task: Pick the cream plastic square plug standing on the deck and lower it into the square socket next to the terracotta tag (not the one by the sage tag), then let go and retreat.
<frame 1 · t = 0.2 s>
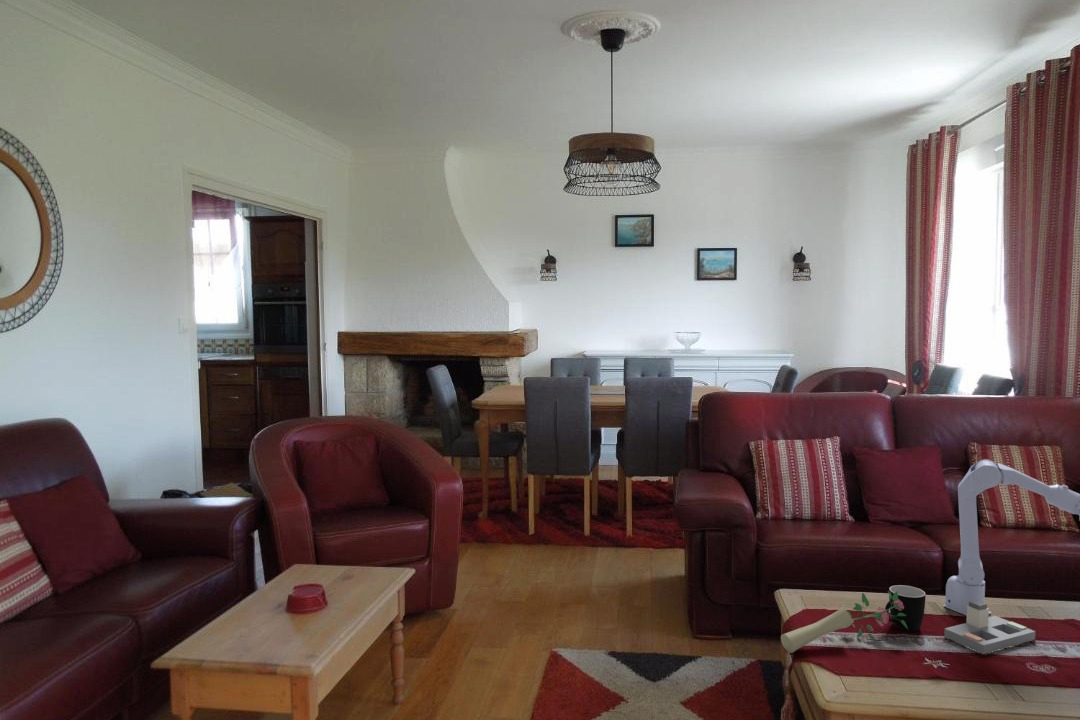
plug: (977, 624, 198), point 2 cm above the table, touching deck
flower vase: (841, 643, 193), on the table
mug: (902, 628, 202), on the table
deck: (989, 639, 195), on the table
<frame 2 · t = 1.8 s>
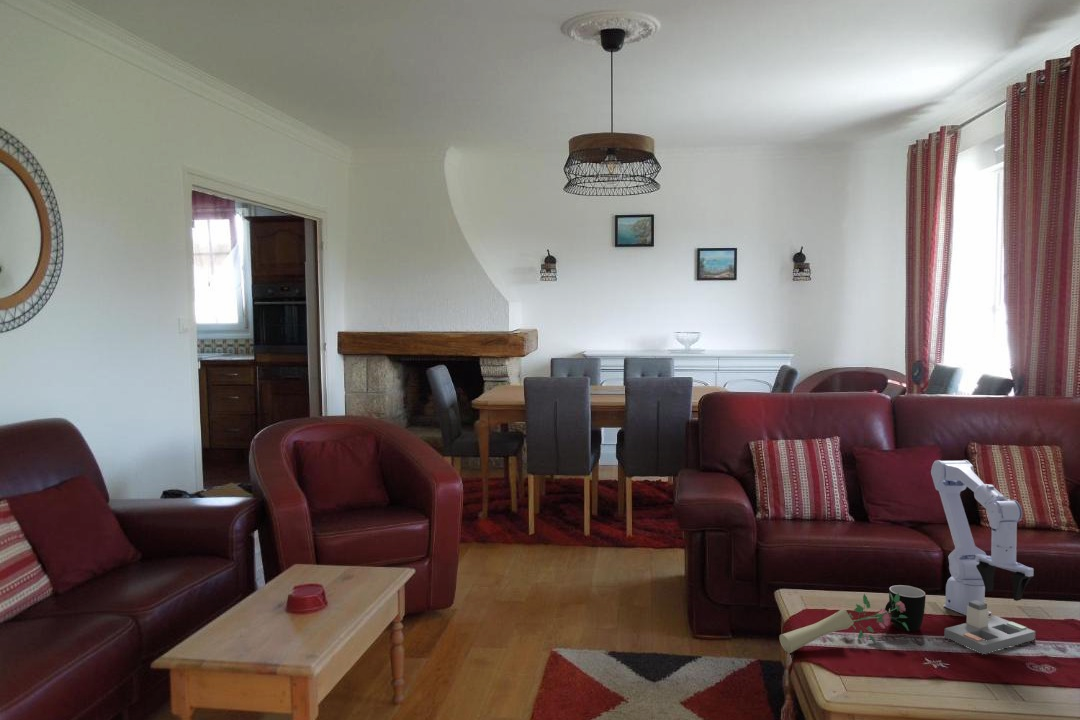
hand: (1003, 595, 198), 10 cm above the table, tool pointing down, fingers open, 7 cm apart
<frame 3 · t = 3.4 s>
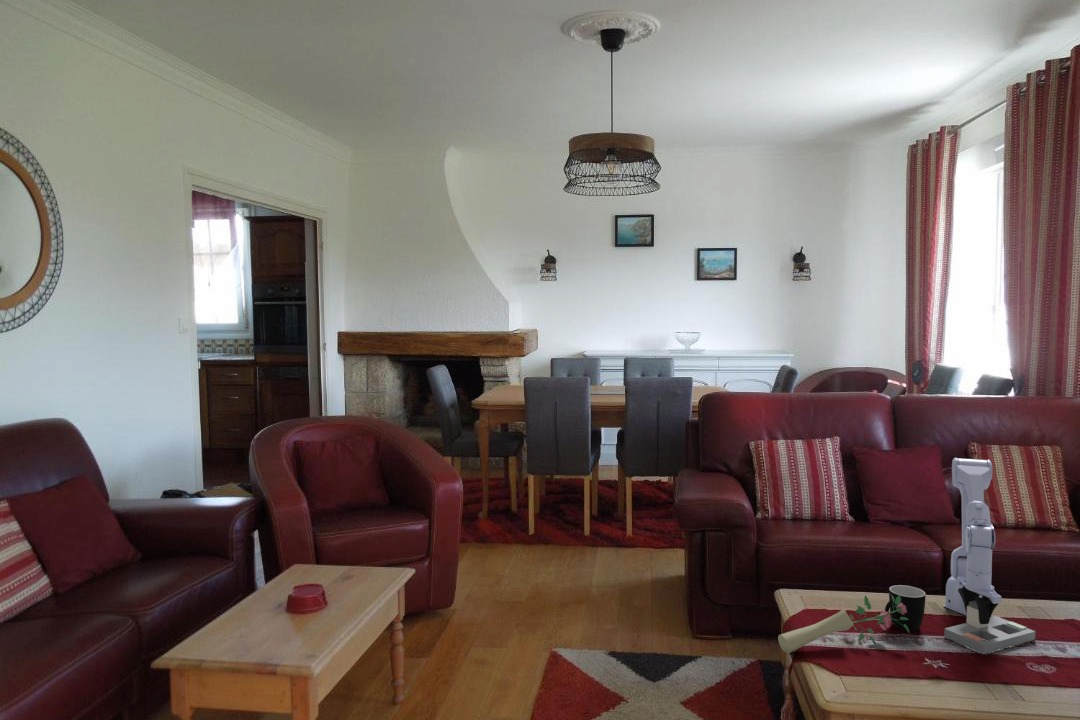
hand: (977, 619, 198), 4 cm above the table, tool pointing down, fingers closed on plug, 4 cm apart
plug: (977, 624, 198), point 3 cm above the table, touching deck, gripper
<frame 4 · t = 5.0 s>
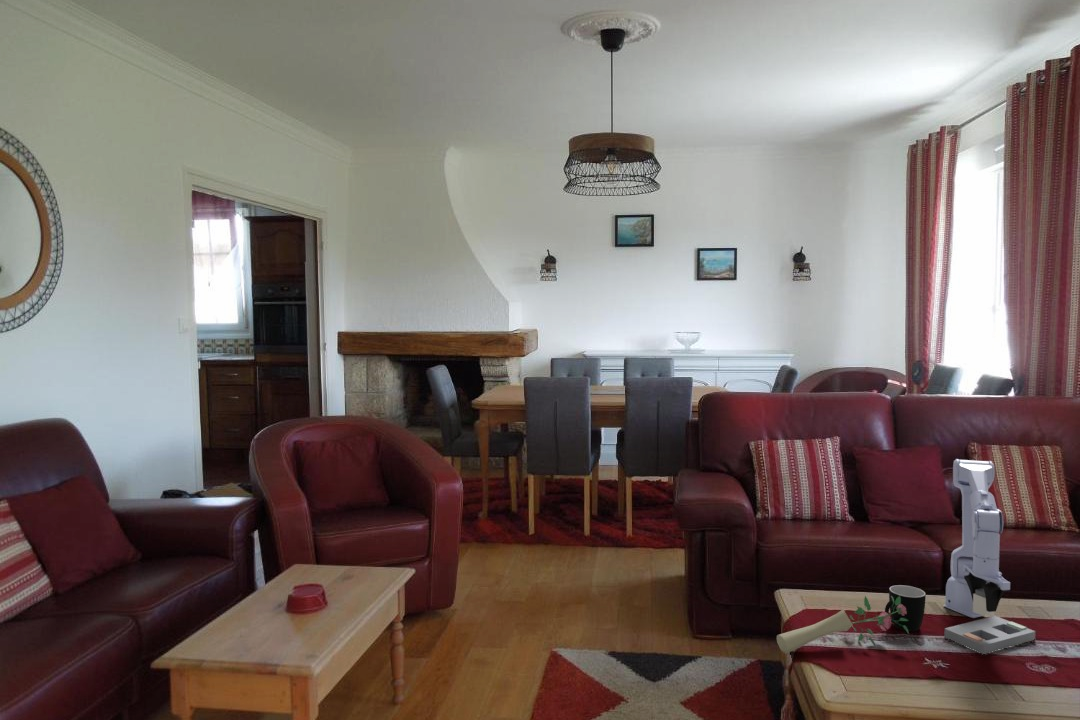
hand: (984, 607, 191), 10 cm above the table, tool pointing down, fingers closed on plug, 4 cm apart
plug: (983, 613, 191), point 8 cm above the table, touching gripper
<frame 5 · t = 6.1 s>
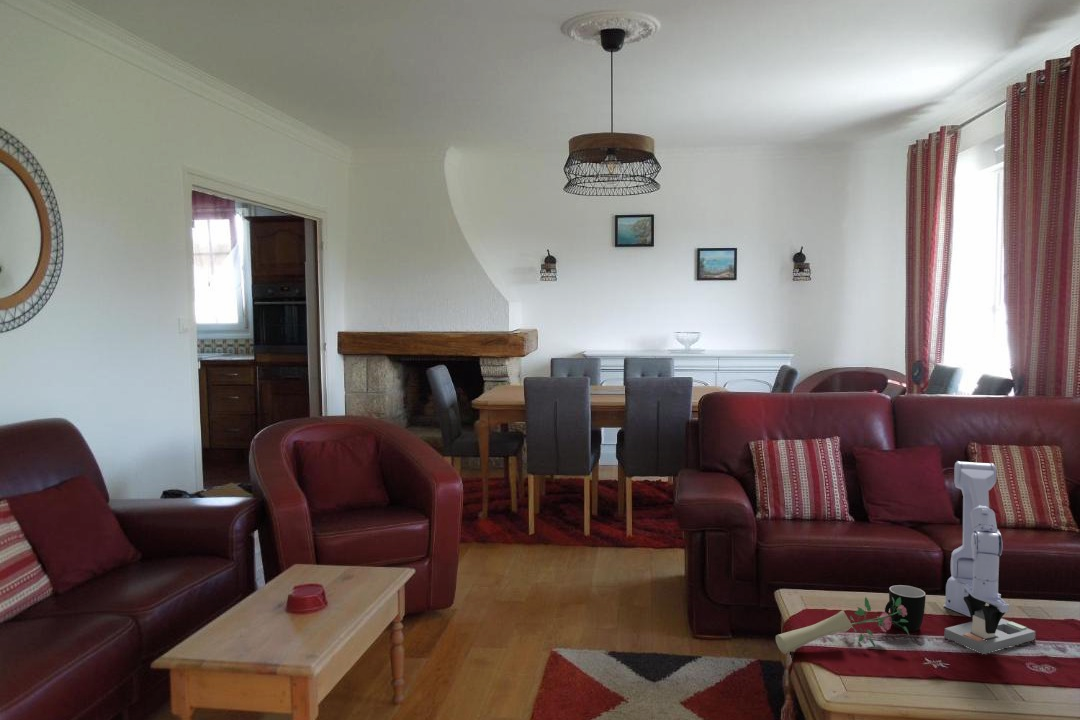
hand: (983, 628, 191), 4 cm above the table, tool pointing down, fingers closed on plug, 4 cm apart
plug: (983, 634, 192), point 3 cm above the table, touching gripper
when the fingers open (3 cm above the table, at t = 6.9 s): plug drops 2 cm, resting in deck.
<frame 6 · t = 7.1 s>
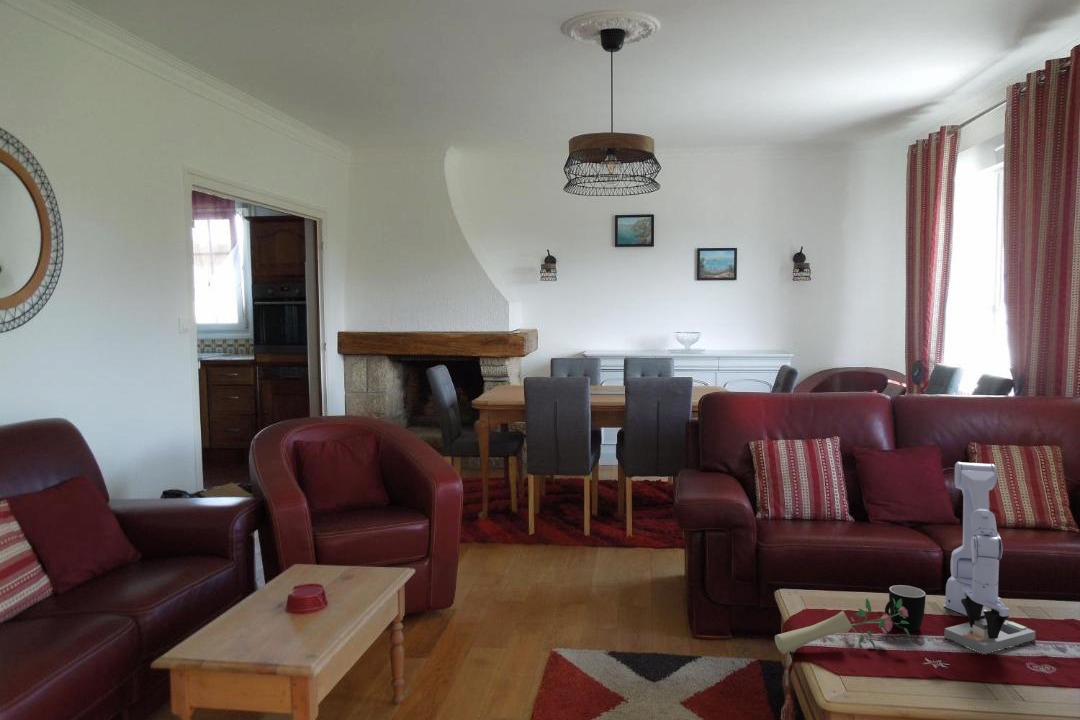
hand: (983, 632, 191), 3 cm above the table, tool pointing down, fingers open, 6 cm apart
plug: (983, 644, 192), resting in deck
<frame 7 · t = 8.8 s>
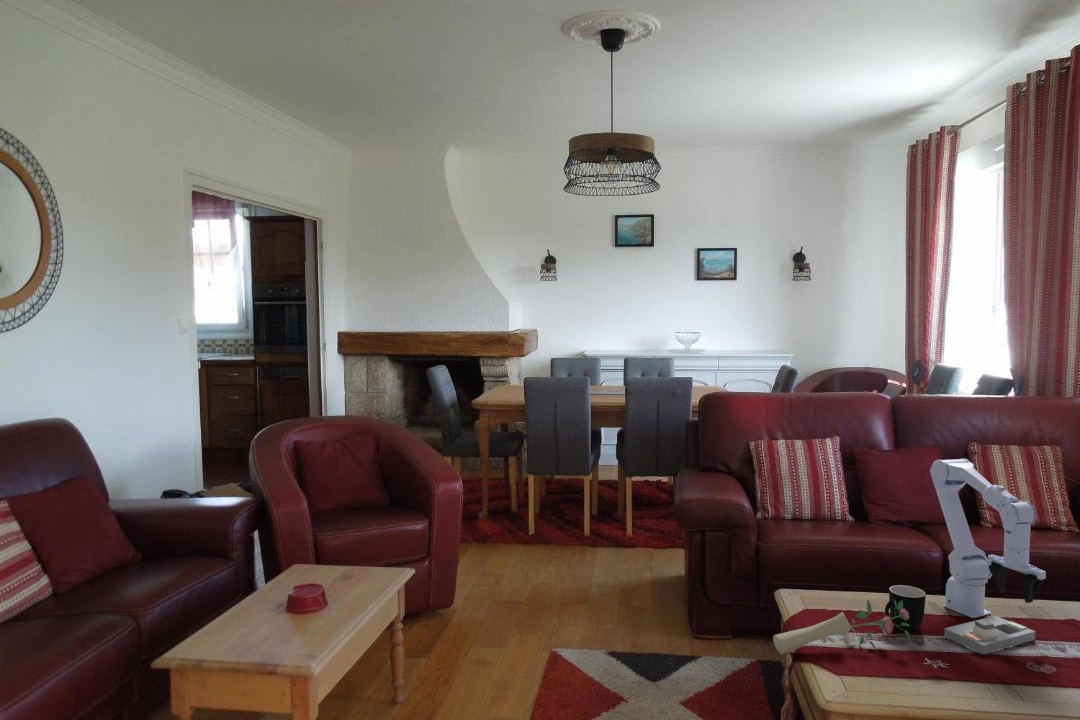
hand: (1014, 596, 197), 10 cm above the table, tool pointing down, fingers open, 7 cm apart
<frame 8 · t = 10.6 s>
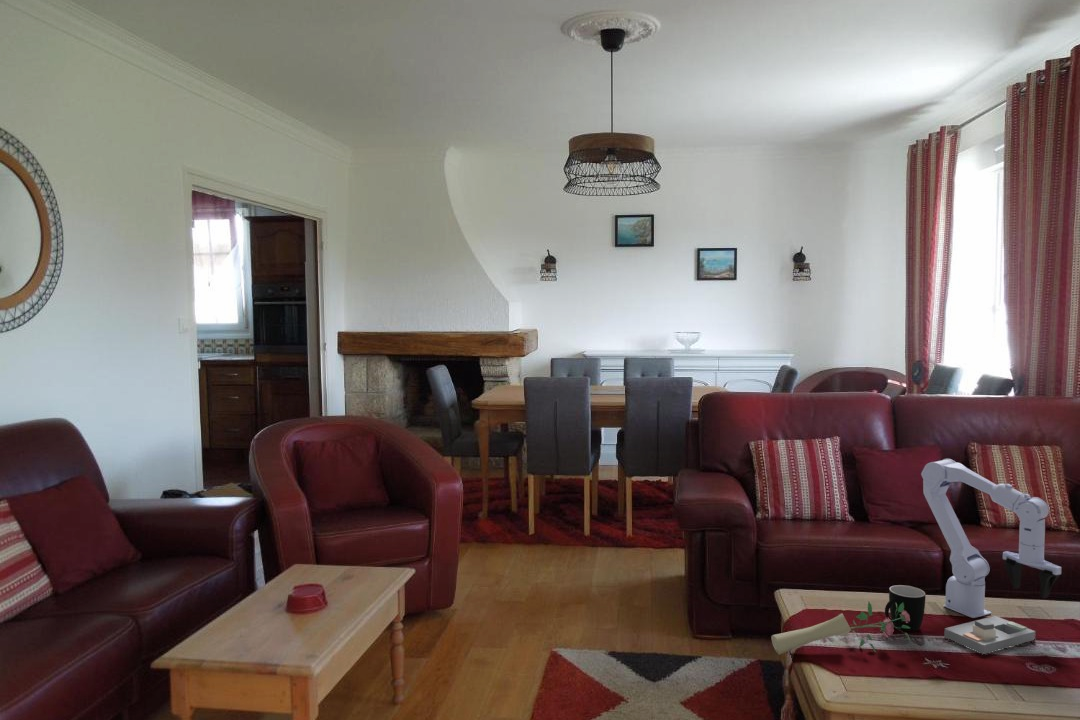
hand: (1030, 592, 200), 10 cm above the table, tool pointing down, fingers open, 7 cm apart
at the end: plug 0.1 cm from the target spot on the deck, point 0.0 cm above the deck's base; plug tilted 0°; the gripper is holding nothing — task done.
